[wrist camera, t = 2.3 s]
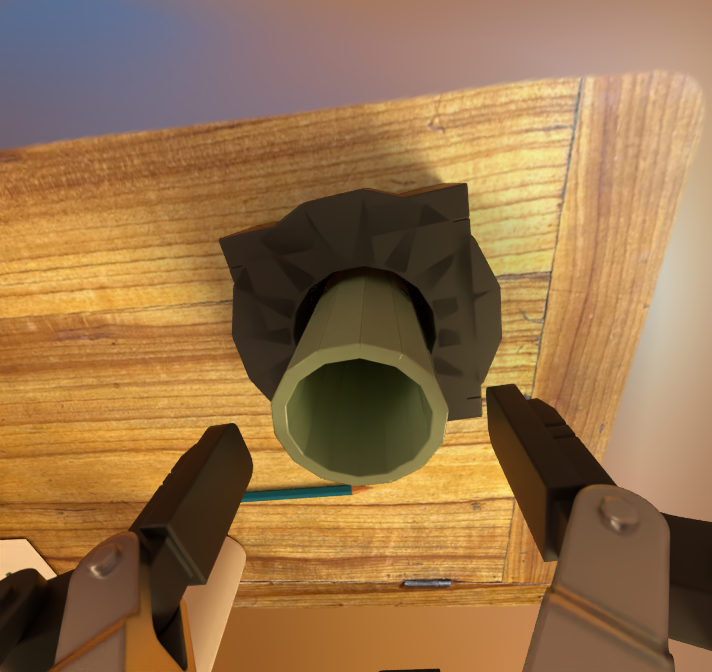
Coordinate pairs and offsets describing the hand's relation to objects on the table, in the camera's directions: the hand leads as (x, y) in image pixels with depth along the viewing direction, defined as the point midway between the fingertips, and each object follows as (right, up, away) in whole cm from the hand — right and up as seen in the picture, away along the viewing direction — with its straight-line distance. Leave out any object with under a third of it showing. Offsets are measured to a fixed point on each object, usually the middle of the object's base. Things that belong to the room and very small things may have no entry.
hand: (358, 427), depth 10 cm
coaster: (-36, -21, +24) cm, 48 cm away
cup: (+1, +5, +10) cm, 11 cm away
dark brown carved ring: (+1, +5, +10) cm, 11 cm away
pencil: (-7, -10, +18) cm, 22 cm away
